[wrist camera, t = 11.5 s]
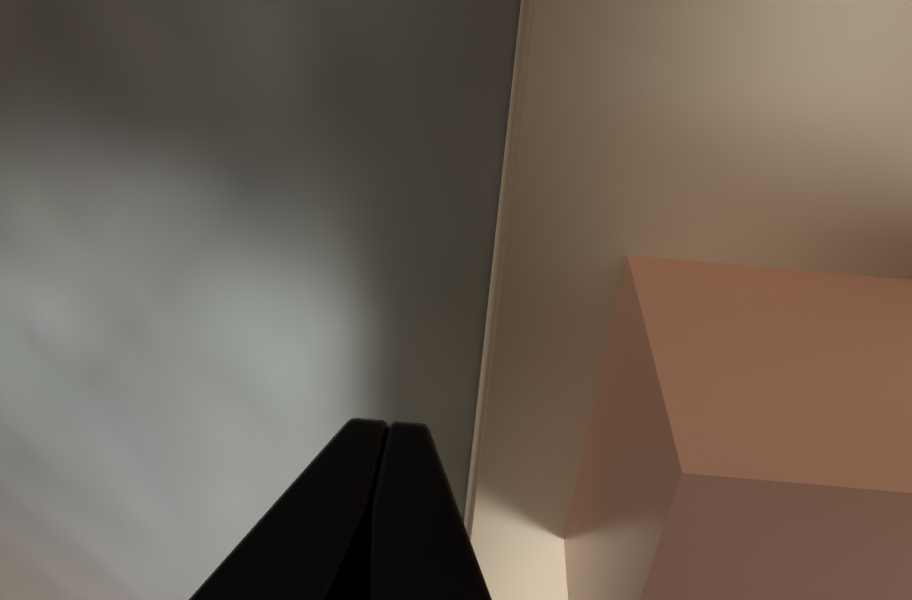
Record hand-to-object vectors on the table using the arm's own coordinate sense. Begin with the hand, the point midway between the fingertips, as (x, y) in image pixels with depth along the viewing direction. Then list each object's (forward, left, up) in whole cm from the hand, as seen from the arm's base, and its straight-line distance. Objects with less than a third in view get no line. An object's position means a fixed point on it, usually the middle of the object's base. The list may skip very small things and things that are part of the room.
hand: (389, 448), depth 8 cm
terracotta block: (+5, 0, -1) cm, 5 cm away
